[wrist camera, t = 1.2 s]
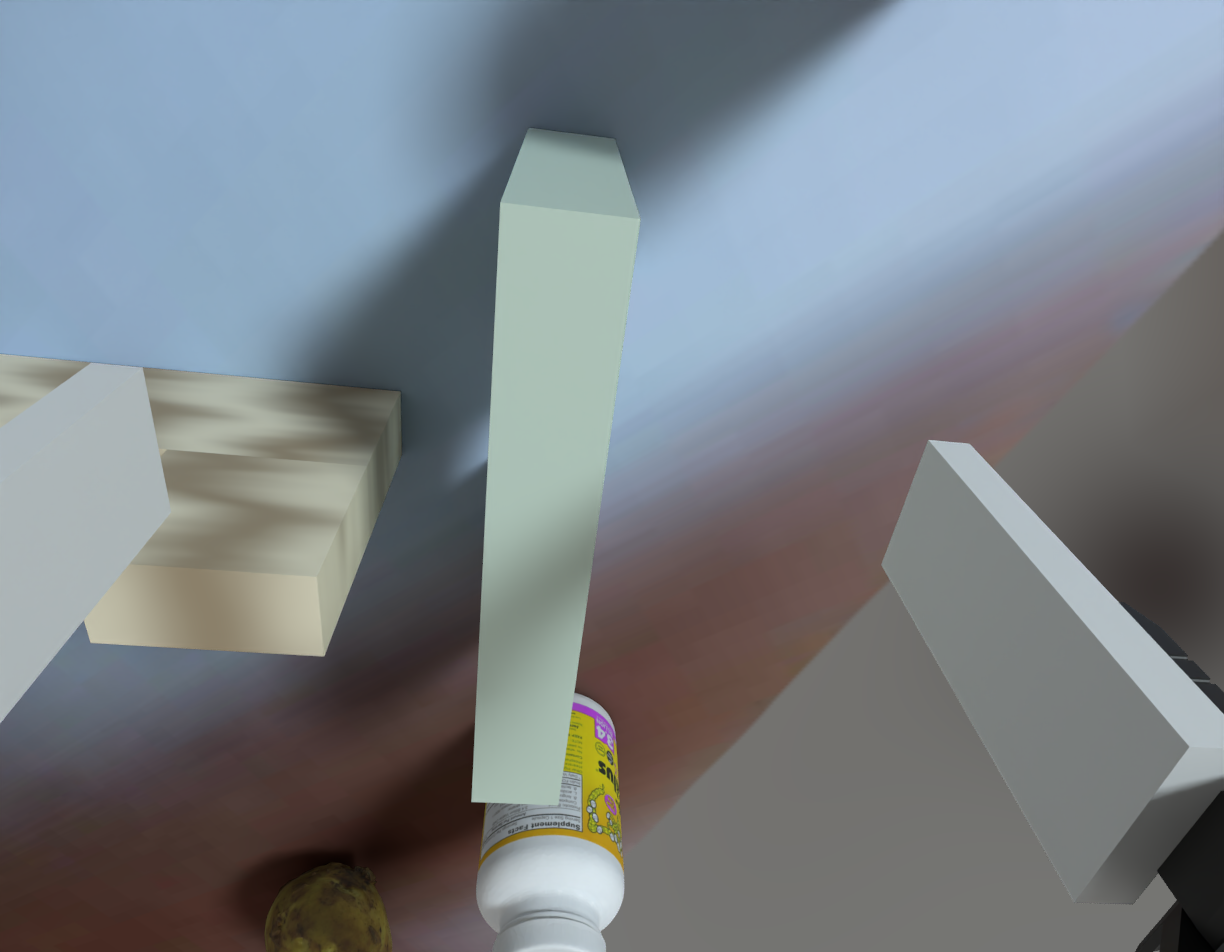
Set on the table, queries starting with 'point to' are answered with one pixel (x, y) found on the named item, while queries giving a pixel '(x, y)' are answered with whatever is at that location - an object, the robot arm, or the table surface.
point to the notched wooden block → (243, 507)
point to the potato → (329, 913)
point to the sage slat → (547, 448)
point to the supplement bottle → (558, 851)
